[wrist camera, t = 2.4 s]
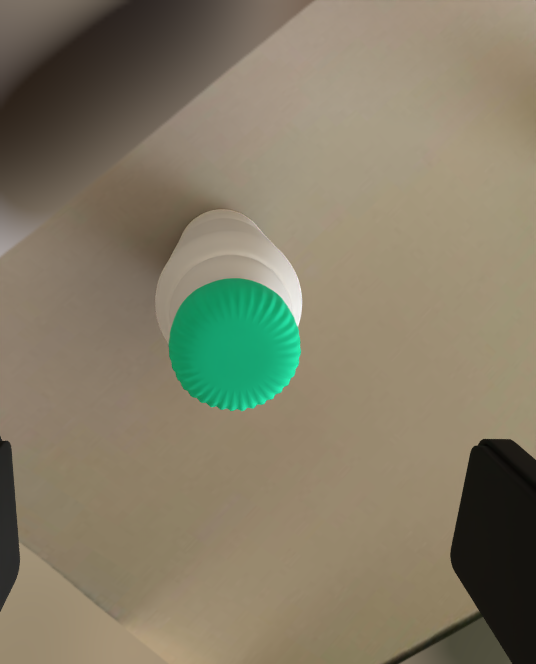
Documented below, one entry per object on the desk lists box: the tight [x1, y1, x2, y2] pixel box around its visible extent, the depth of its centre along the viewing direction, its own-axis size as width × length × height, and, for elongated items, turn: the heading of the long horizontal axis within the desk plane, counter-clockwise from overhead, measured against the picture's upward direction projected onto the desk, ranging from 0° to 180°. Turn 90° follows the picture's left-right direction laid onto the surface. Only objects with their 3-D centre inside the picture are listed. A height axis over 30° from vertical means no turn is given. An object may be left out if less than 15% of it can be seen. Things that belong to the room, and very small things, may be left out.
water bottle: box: [155, 209, 302, 411], centre depth 29 cm, size 7×7×25 cm
